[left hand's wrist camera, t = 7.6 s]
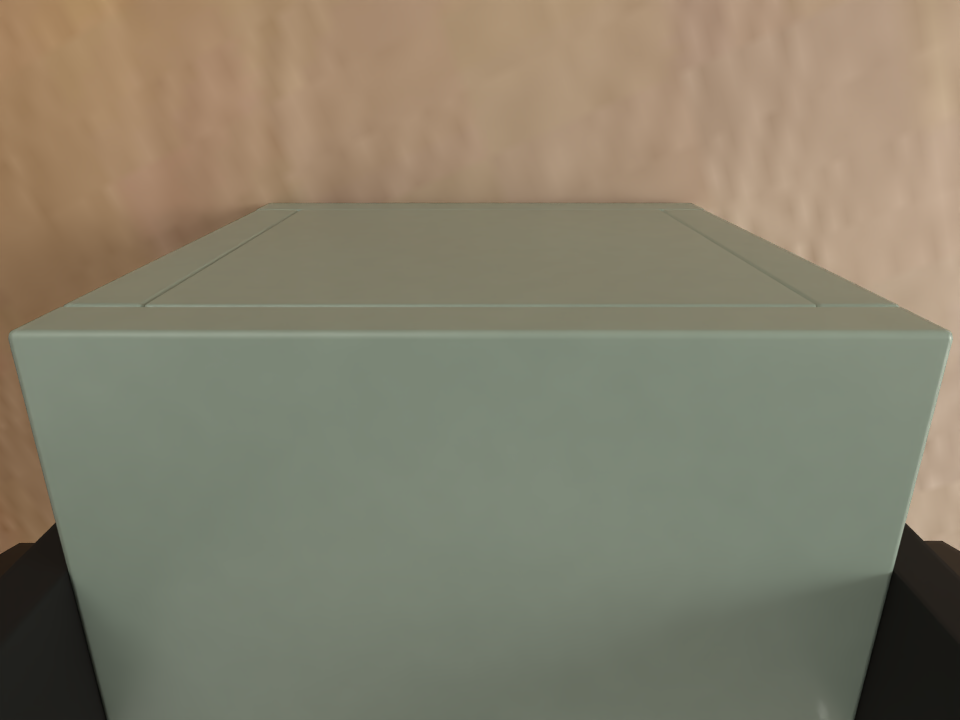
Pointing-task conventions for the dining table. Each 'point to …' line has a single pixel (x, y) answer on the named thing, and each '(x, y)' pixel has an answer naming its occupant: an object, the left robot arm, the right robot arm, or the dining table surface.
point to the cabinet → (480, 467)
